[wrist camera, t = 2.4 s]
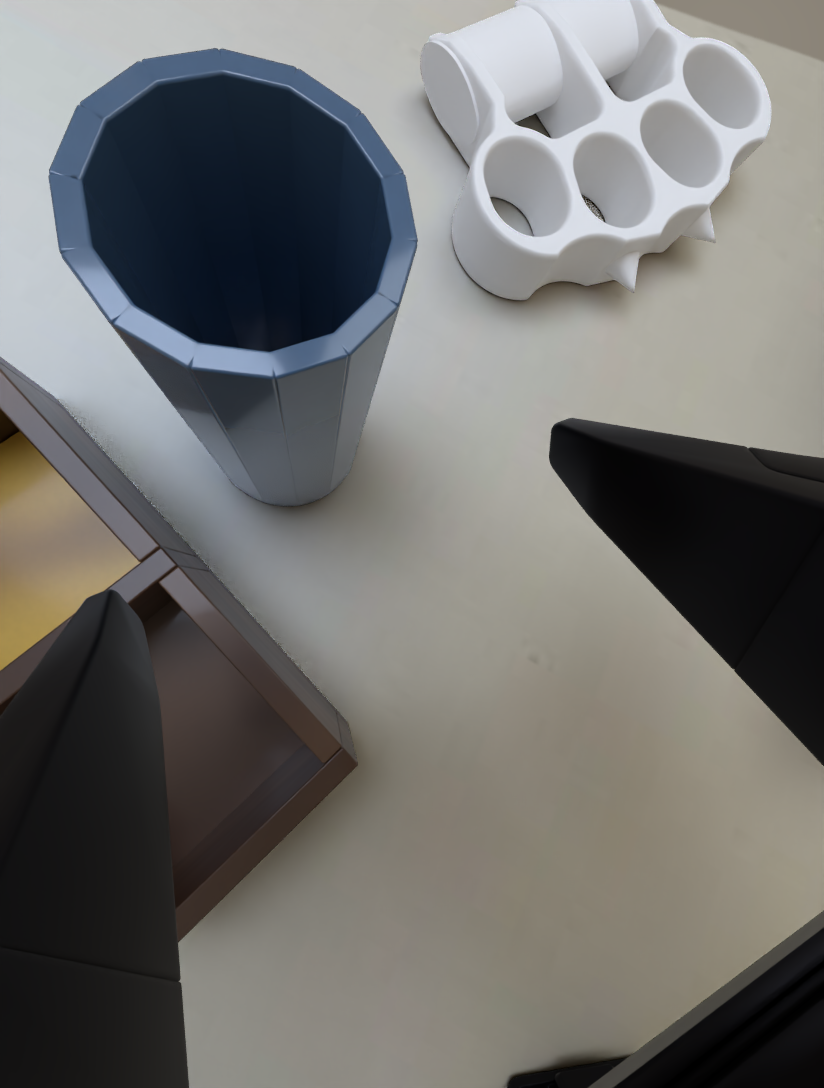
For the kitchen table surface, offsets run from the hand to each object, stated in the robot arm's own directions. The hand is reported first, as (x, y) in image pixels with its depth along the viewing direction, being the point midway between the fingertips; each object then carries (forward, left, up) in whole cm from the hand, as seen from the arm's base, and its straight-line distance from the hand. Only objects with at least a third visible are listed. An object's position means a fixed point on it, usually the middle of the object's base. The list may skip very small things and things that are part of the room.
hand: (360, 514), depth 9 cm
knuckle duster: (+21, -12, -12) cm, 27 cm away
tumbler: (+5, +2, -12) cm, 13 cm away
